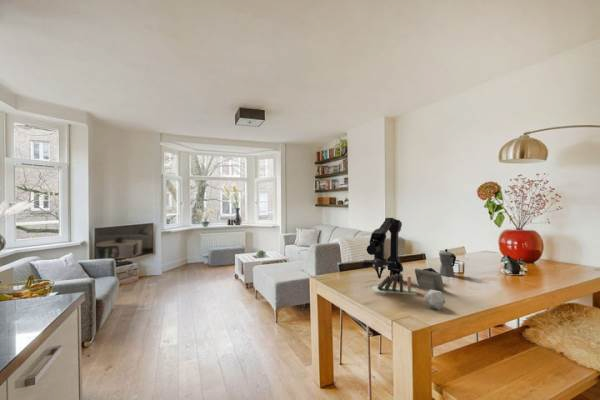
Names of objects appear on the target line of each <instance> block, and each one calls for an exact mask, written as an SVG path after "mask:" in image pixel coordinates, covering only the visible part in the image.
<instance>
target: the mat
mask: <svg viewBox="0 0 600 400" xmlns="http://www.w3.org/2000/svg"><path fill="white" fill-rule="evenodd" d="M371 292H377V293H378V292H379V293H390V294H403V295H411V296H413V295H416V296H417V292H416V289H415V288H411V293H408V287H406V288H404V287H403V292H400V287H396V290H395V291H392V287H391V286H390V287H389V289H388V291H387V290H385V286H383V287H382V288H381V289H380V290H379V289H378V285H373V286H372V290H371Z"/></svg>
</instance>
